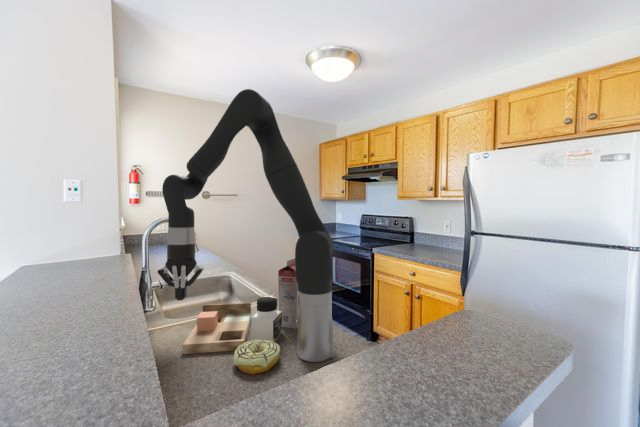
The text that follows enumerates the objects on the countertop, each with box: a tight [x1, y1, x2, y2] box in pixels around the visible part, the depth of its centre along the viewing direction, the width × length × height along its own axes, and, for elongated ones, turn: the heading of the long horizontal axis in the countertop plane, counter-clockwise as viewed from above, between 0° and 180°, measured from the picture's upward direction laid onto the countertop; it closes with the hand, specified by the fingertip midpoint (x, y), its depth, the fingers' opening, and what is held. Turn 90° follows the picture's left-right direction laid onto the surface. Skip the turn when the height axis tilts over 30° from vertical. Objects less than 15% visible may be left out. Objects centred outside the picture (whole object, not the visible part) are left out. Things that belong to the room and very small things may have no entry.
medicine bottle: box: [250, 295, 283, 343], centre depth 85 cm, size 7×7×12 cm
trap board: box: [182, 302, 252, 355], centre depth 87 cm, size 16×22×6 cm
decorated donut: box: [232, 339, 281, 375], centre depth 71 cm, size 11×12×4 cm
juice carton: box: [277, 257, 298, 330], centre depth 95 cm, size 7×7×22 cm
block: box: [196, 311, 218, 331], centre depth 86 cm, size 5×5×4 cm
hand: (180, 299), depth 84 cm, fingers closed
